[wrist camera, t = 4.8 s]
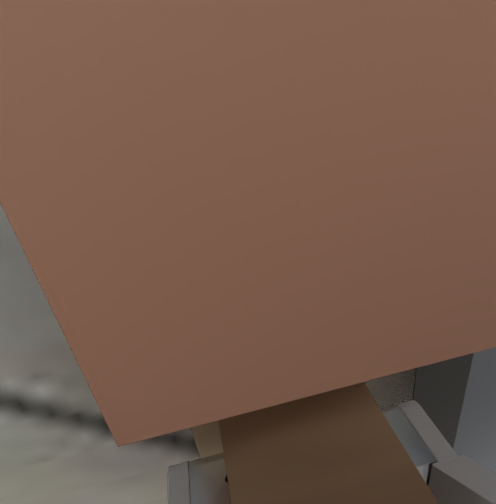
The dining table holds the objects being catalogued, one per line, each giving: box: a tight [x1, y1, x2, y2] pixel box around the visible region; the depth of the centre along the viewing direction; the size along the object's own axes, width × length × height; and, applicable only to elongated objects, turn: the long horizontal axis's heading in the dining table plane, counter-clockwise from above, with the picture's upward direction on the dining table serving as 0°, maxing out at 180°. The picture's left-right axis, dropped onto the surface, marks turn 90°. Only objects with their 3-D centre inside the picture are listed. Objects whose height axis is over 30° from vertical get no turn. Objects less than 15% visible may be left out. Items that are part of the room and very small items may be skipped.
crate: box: [0, 0, 496, 447], centre depth 5 cm, size 5×5×5 cm
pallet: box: [191, 382, 438, 504], centre depth 11 cm, size 24×6×9 cm, turn 8°
